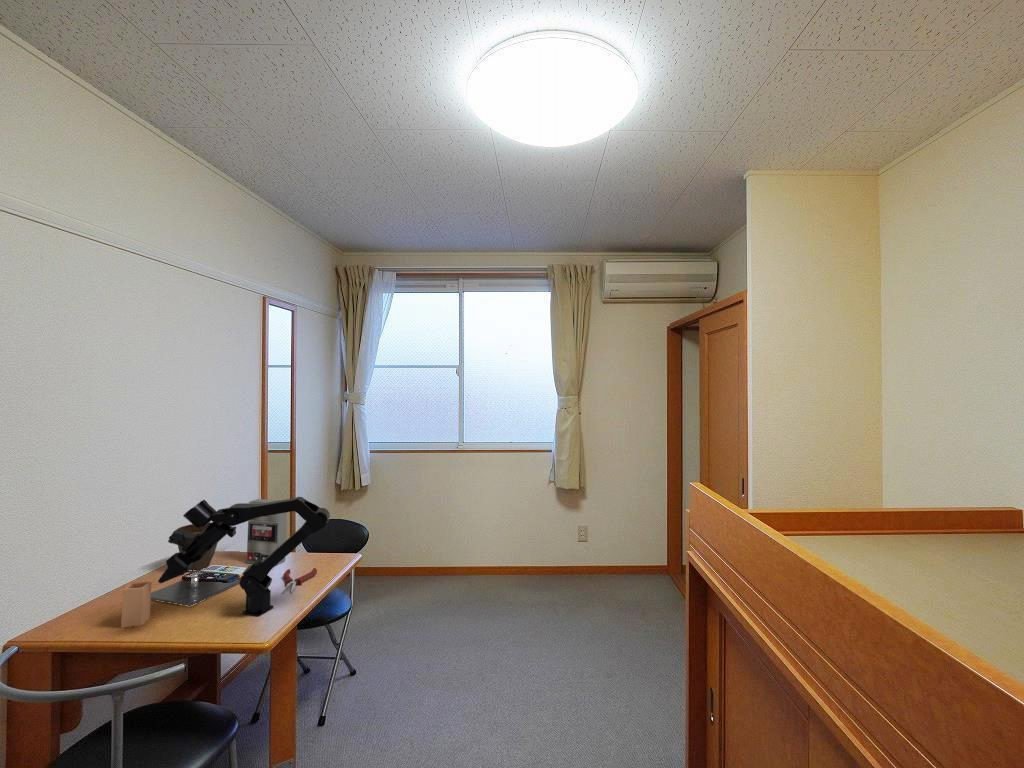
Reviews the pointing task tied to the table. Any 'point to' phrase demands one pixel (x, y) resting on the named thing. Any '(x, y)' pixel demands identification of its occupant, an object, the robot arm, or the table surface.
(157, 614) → the table surface
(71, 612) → the table surface
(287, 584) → the pliers
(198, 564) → the plant pot
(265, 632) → the table surface
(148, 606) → the sleeve
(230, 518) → the robot arm
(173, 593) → the plate
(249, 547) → the grey electrical device
